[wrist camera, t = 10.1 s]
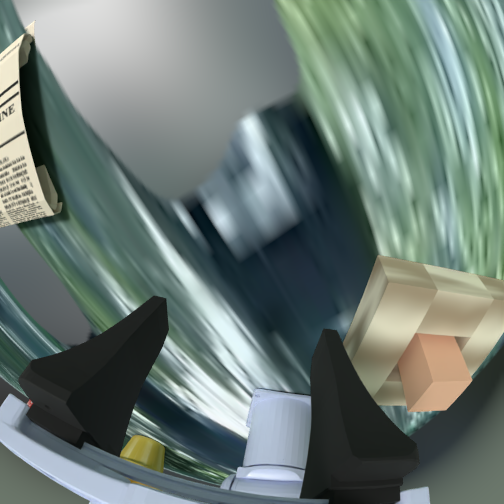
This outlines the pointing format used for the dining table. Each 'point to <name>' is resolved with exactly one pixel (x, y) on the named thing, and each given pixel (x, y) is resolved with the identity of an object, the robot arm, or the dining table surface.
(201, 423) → the dining table surface
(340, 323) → the dining table surface
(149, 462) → the plant pot
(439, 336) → the peg
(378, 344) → the socket block
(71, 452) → the robot arm
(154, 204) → the dining table surface
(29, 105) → the dining table surface
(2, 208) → the newspaper
